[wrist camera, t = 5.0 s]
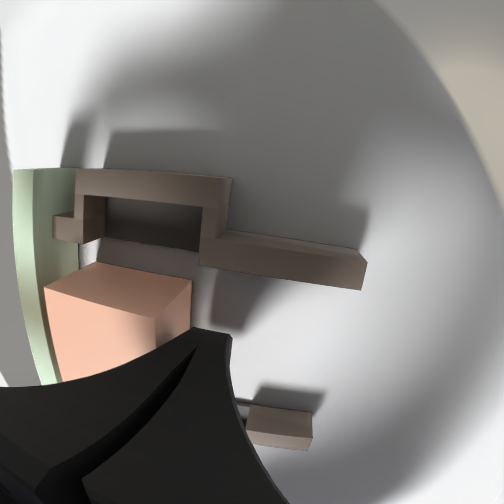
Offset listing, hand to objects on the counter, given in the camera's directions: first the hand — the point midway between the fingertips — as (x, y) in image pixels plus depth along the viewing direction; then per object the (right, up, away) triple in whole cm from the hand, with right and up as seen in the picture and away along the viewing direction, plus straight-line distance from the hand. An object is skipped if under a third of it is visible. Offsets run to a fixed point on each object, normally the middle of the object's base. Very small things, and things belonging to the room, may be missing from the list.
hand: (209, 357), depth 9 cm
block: (-3, +1, +2) cm, 3 cm away
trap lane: (-1, +1, +1) cm, 2 cm away
